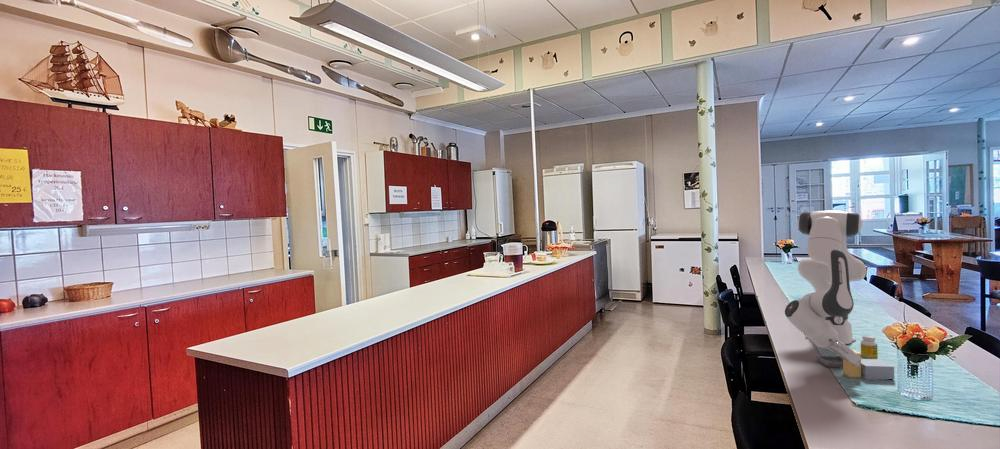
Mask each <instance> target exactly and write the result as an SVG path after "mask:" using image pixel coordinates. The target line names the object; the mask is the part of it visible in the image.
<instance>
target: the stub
mask: <svg viewBox="0 0 1000 449" xmlns="http://www.w3.org/2000/svg"><path fill="white" fill-rule="evenodd" d="M852 350H853V351H854V352H855V353H856V354H857V355H858V356H860V358H861V352H859V351H857V350H856V349H852ZM861 359H862V358H861ZM858 362H859V363H860V365H859V366H858V367H856V366H855V365H853V364H851V363H850V362H848V361H847V360H845V359H843V368H842V369H843V374H844V375H845V376H846V377H848V378H862V377H861V360H860V361H858Z"/></svg>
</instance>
